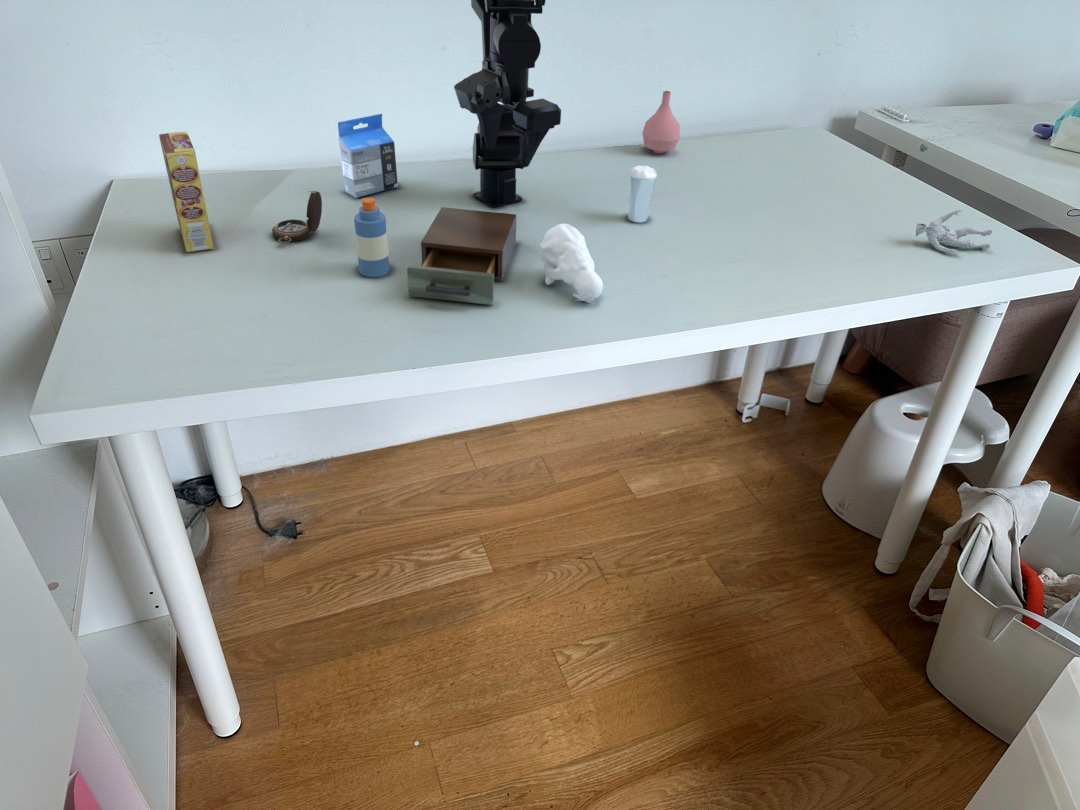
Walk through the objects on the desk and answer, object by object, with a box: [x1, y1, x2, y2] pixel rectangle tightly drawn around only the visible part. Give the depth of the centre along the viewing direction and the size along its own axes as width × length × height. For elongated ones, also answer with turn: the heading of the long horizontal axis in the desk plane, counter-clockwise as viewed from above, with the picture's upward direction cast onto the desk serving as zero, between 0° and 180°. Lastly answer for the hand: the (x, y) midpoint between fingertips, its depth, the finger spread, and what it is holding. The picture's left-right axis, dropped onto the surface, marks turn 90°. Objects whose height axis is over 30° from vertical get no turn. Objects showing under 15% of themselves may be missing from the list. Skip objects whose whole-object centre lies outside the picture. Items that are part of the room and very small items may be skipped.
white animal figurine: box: [539, 223, 604, 304], centre depth 113 cm, size 6×8×12 cm
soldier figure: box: [915, 209, 993, 255], centre depth 132 cm, size 8×5×12 cm
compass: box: [271, 190, 323, 244], centre depth 123 cm, size 8×8×7 cm
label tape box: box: [337, 113, 399, 199], centre depth 138 cm, size 9×4×12 cm, turn 131°
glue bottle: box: [353, 197, 390, 278], centre depth 114 cm, size 4×4×11 cm
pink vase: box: [642, 90, 681, 155], centre depth 161 cm, size 8×8×12 cm
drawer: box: [406, 248, 498, 306], centre depth 114 cm, size 15×12×4 cm
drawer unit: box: [420, 206, 517, 282], centre depth 121 cm, size 13×12×5 cm
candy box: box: [158, 131, 214, 253], centre depth 118 cm, size 9×4×15 cm, turn 26°
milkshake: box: [627, 164, 664, 224], centre depth 134 cm, size 4×5×10 cm
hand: (507, 157), depth 124 cm, fingers open, 9 cm apart
